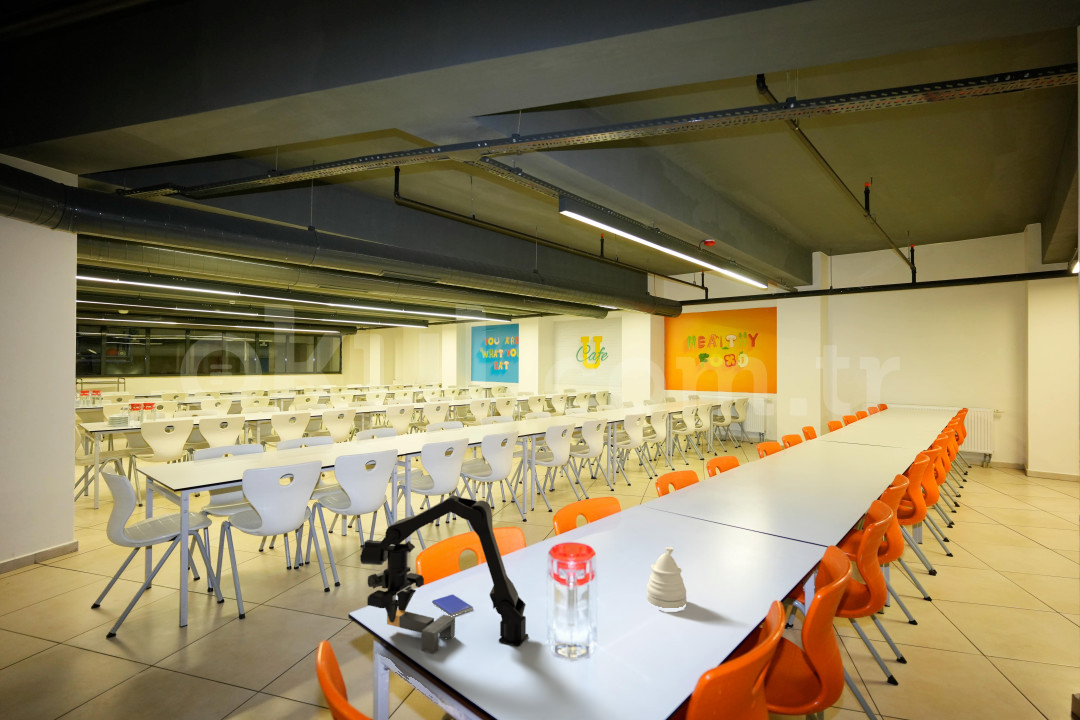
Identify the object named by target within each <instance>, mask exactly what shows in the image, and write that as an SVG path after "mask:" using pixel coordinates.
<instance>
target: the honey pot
mask: <svg viewBox="0 0 1080 720" xmlns="http://www.w3.org/2000/svg"><path fill="white" fill-rule="evenodd" d="M665 551H666V552H665V553H663V554H661V555H659V558H658V559H657V560H656V562H655V563H653V564H652V565H651V566H650V569H651V571H652V572H651V573H650V576H649V579H648V583H647V584H646V601H647V600H648V601H649V602H650V603H651V604H653V605H655V606H658V607H662V608H679V607H683V606H684V605H685V604H686V605H687V589H686V586H685V583H684V578H683V577H682V575H681V573H682V571H683V570H682V568H681V567H680V566H678V565H677V563H676V560H675V559H674V558H673V556H672V555H671V554H672V553H673V551H674V548H673V547H672V546H666V547H665Z"/></svg>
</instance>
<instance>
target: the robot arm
mask: <svg viewBox="0 0 1080 720" xmlns="http://www.w3.org/2000/svg"><path fill="white" fill-rule="evenodd" d="M449 513H452V514H454V515H456V516H458V517H459V518H461V519H464V520H466V521H468V522H469V524H470V527H471V528H472V530H473V532H474V533H475V534H476V535H477V536H478V539H479V542H480V545H481V548H482V551H483V554H484V557H485V561H486V564H487V568H488V570H489V571H488V572H489V573H490V576H491V580H492V583H493V586H492V588H491V590H490V592H489V598H490V600H491V601H492V609H493V610H495V611H496V612H497V614H499V615H500V617H501V621H500V622H499V626H500V627H499V630H500V631H499V636H500V637H499V638H498V642H500V643H503V644H508V645H511V646H516V647H519V646H521V645H522V644H523V643H524V642H525V640H526V639H527V638H528V637H529V634H528V633H526V632H527V631H526V629H527V623H526V622H527V618H526V616H525V615H524V614H525V613H524V612H525V608H526V605H527V604H526V603H525V602H524V601H523V600H522V598H521V597H519V592H518V591H517V589H516V586H515V585H514V583H513V582H512V581H511V579H510V578H509V576H508V575H507V571H506V569H505V568H506V567H505V566H504V562H503V558H502V556H501V553H500V552H501V551H500V549H499V546H498V542H497V540H496V536H495V532H494V530H493V528H494V527H493V515H492V514H493V513H492V507H491V505H490V503H489V502H487V501H485V500H475V499H472V498H471V499H470V498H465V497H461V496H458V495H454V494H453V495H450V496H448V497H447V498H446V499H445V500H443V501H440V502H439V503H437V504H435V505H433V506H431V507H429V508H428V509H425V510H424V511H421V512H420V513H418V514H415V515H413V516H408V517H404V518H401V519H398V520H396V521H395V522H394V523H392V524H391V525H389V526H388V527H387V528H386V530H385V533H384V534H385V537H384V538H383V539H382V540H373V539H366V541H364V543H363V547H362V550H361V553H360V556H359V558H360V564H362V565H368V566H369V565H372V566H382V565H383V564H384V563H385V562H386V563H387V566H386V567H387V568H386V569H384V570H383V571H382V572H379V573H378V574H377V573H373V574H370V575H368V576H367V586H368V587H369V588H372V589H375V588H377V587H381V588H382V589H384V590H385V589H387V590H386V591H384V590H380V589H378V590H376V591H375V592H372V593H370V594H369V595H368V596H367V599H366V600H367V601H366V602H367V606H370V607H374V608H377V609H385V611H386V615H387V614H388V617H389V620H390V622H392V623H393V622H394V620H395V616H396V612H397V609H399V610H403V611H407V610H406V609H407V607H408V605H409V603H410V601H411V600H412V598H413V596H414V594H415V593H416V589H415V588H413V587H412V585H413V584H415V587H416V588H421V587H423V586H424V585H425V578H424V576H423V575H422V574H417V573H414V572H413V573H412V572H411V567H409V566H408V563H409V562H408V556H409V555H408V554H409V553H411V552H412V551H413V550H414V549H415V548H416V546H415V545H414V544H413V543H412V542H411V541H410V540H408V541H407V542H406V543H403V541H405V540H407V539H408V537H410V536H411V535H412V534H414V533H416V531H418V530H419V529H421V528H423V527H425V526H427V525H428V524H430V523H432V522H435V521H436V520H439V518H441V517H444V516H446V515H448V514H449Z"/></svg>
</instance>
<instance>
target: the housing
mask: <svg viewBox="0 0 1080 720" xmlns="http://www.w3.org/2000/svg"><path fill="white" fill-rule="evenodd" d="M455 632H456V616H453V617H451V616H449V615H447V614H442V615H441V616H439V617H438V618H436V620H434V622H433V623H431V624H430V625H429V626H427V627H426V628H425V629H423V630H422V633H421V651H422V652H425V651H426V653H429V652H430V654H432V653H433V655H435V654H436V653H437V652H438V651H439V641H440V640H439V639H440V638H441V637H442V639H445V638H447V639H446V640H449V639H452V638H453V639H454V638H455V637H454V636H456V633H455ZM453 639H452V640H453ZM434 653H435V654H434Z"/></svg>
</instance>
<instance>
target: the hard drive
mask: <svg viewBox="0 0 1080 720" xmlns="http://www.w3.org/2000/svg"><path fill="white" fill-rule="evenodd" d="M432 603H433V604H434V605H433V604H432ZM431 604H432V605H433V606H435V605H436V606H437V607H438V608H437V607H436V606H435V607H436V608H437V609H439V608H440V609H441V611H442V610H443V611H444V612H446V613H447V614H448V615H447V614H446V613H445V614H446V615H447V616H449V615H450V616H453V615H456V614H459V613H462V614H464V613H463V612H465V611H468V612H470V611H472V610H471V609H473V610H474V606H472V605H470V604H469V603H467V602H466V601H464V600H463V599H461V598H459V597H458V596H457V595H455V594H449V595H446V596H443V597H440V598H436V599H433V600H432V601H431ZM440 609H439V610H440ZM469 610H470V611H469ZM443 611H442V612H443ZM444 612H443V613H444ZM465 613H466V612H465ZM459 615H460V614H459ZM456 616H457V615H456ZM453 617H454V616H453Z"/></svg>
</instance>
